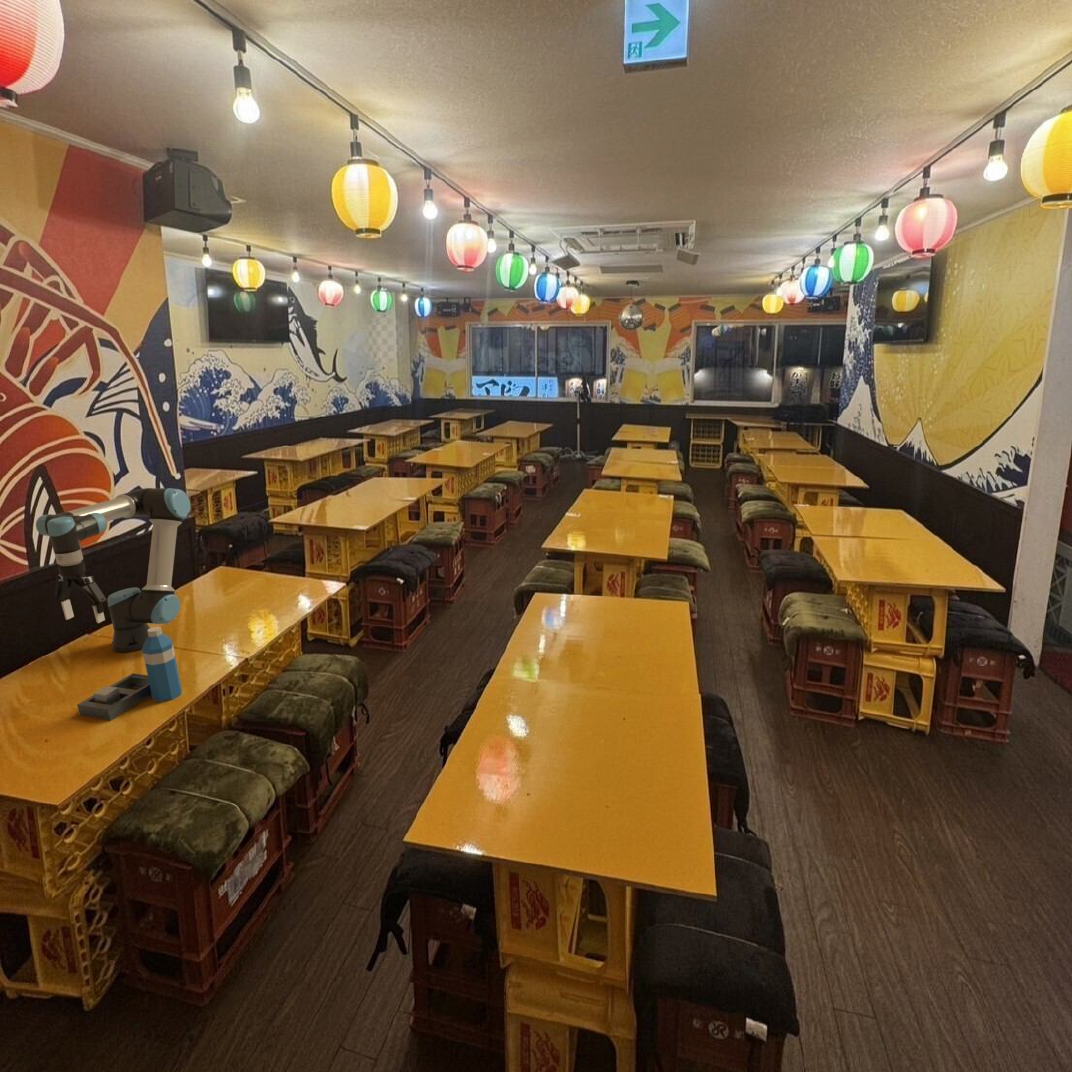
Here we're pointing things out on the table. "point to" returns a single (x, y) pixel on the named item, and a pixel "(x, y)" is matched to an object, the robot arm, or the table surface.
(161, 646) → the water bottle
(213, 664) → the table surface
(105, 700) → the brushed gray brick
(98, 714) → the grey compartment tray
